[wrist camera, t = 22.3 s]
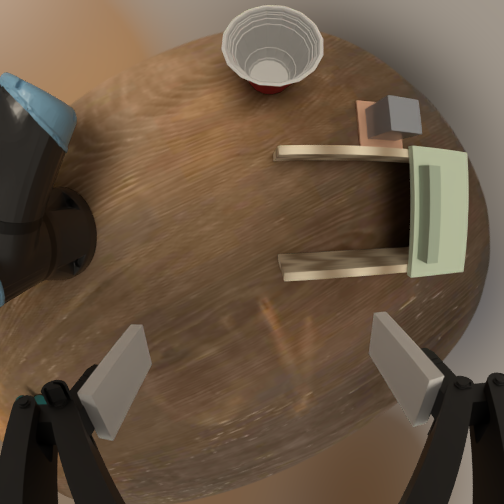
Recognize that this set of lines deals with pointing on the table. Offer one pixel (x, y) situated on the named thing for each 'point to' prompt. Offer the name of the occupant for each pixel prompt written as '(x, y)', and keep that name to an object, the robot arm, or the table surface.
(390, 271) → the wooden box
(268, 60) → the plastic cup
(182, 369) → the table surface
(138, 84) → the table surface
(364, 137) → the terracotta coaster
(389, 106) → the slate block
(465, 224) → the cover
